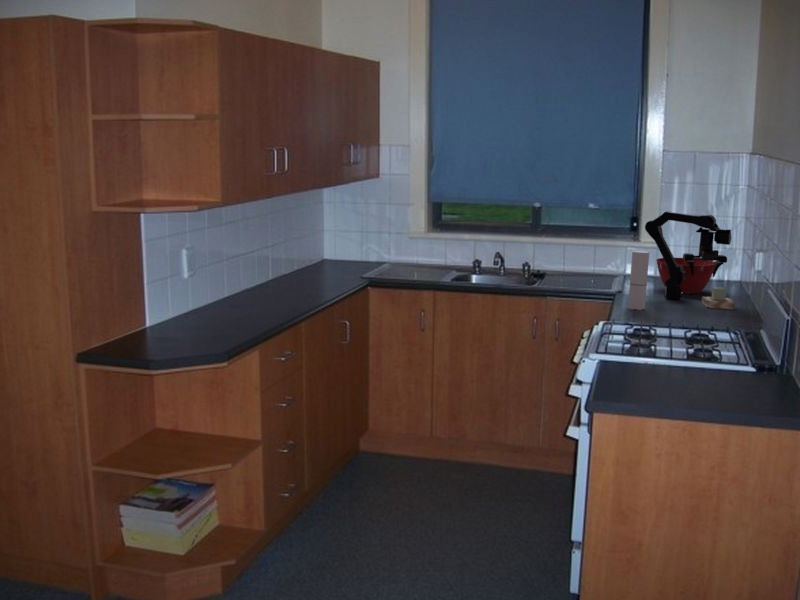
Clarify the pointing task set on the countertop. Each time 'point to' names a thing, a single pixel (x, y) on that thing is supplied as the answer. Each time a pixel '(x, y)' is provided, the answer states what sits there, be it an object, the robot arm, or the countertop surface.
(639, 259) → the white rectangular tower
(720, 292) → the gray cube
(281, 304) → the countertop surface
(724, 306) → the birch base
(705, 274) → the mixing bowl
